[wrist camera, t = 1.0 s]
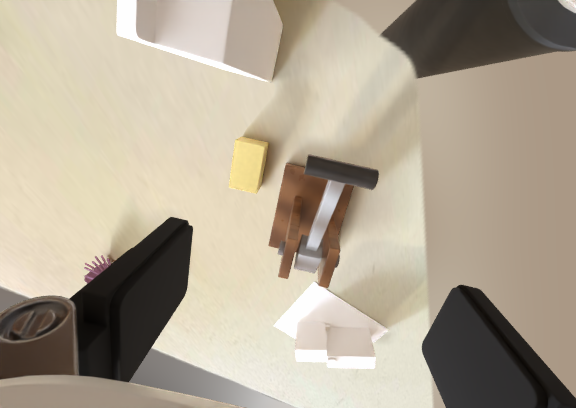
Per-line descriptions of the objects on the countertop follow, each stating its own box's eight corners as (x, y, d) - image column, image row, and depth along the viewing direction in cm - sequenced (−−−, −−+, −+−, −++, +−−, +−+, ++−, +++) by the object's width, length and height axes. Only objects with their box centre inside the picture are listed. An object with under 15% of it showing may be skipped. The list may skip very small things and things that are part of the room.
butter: (241, 136, 35) (235, 139, 32) (268, 142, 35) (265, 146, 32) (234, 180, 37) (228, 187, 34) (260, 186, 37) (256, 193, 34)
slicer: (286, 162, 36) (273, 194, 24) (354, 178, 36) (375, 217, 24) (269, 242, 40) (251, 303, 28) (330, 255, 40) (337, 322, 28)
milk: (283, 25, 30) (228, -132, 10) (271, 83, 32) (205, 56, 12) (229, 10, 30) (57, -182, 9) (221, 70, 32) (65, 18, 12)
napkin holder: (389, 329, 44) (400, 360, 38) (344, 368, 48) (348, 402, 42) (313, 281, 42) (313, 307, 36) (272, 326, 46) (267, 356, 40)
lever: (309, 146, 20) (305, 167, 18) (377, 161, 20) (379, 184, 18) (284, 246, 29) (280, 265, 28) (329, 256, 29) (328, 276, 28)
